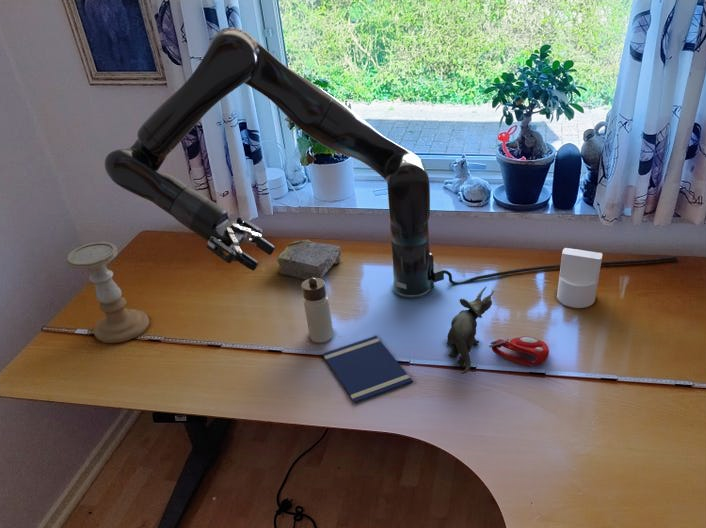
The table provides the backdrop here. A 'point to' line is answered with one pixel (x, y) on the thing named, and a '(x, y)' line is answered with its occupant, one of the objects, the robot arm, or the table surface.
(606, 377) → the table surface
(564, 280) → the cylinder with rectangular tab
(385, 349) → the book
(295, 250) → the geological specimen
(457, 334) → the toy dinosaur
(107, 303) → the candle holder
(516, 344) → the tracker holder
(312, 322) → the pepper mill
